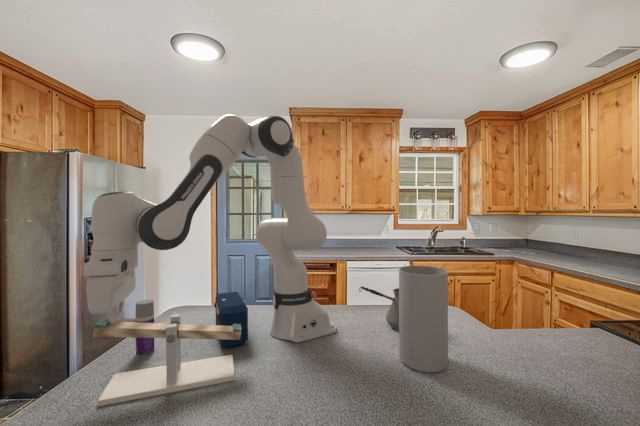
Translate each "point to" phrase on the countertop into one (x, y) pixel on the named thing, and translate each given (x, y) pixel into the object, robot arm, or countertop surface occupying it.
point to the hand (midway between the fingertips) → (115, 320)
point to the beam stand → (168, 374)
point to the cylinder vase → (423, 318)
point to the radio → (232, 315)
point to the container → (144, 316)
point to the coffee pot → (393, 311)
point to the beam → (159, 330)
